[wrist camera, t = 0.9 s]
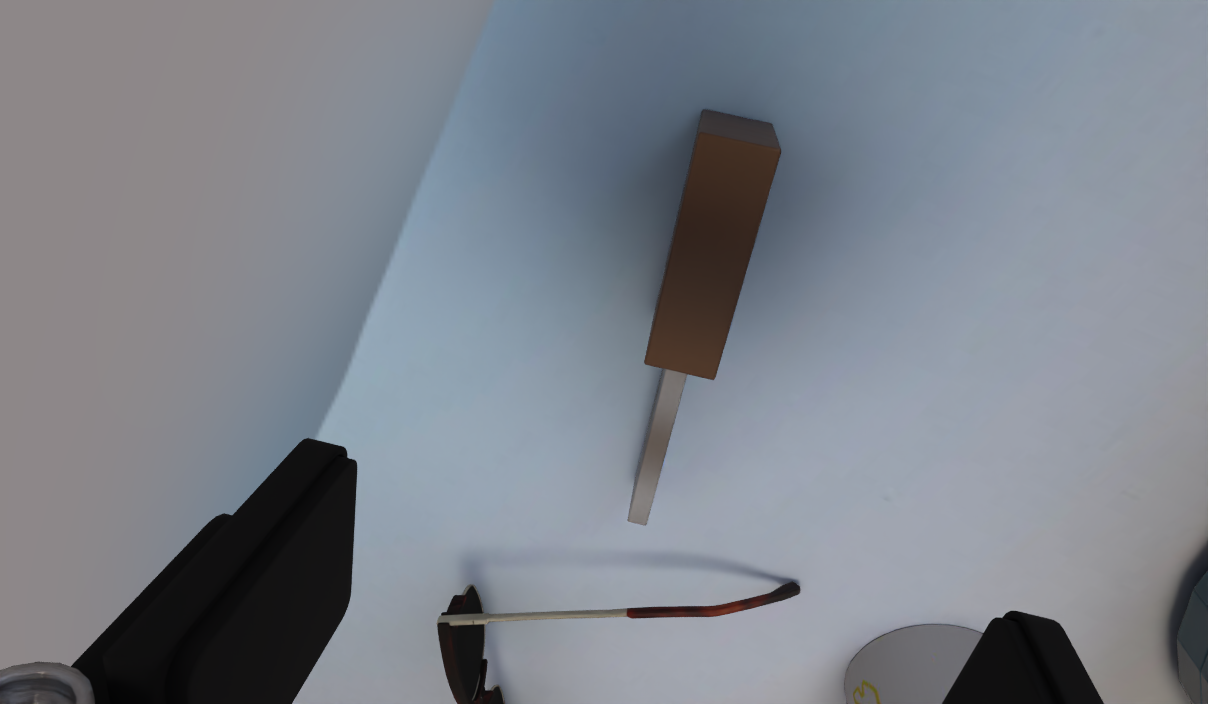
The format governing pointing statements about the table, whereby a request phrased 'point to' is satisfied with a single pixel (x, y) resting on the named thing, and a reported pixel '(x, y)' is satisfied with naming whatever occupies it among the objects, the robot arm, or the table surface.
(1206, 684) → the bowl
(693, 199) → the knife
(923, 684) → the cup
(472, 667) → the sunglasses
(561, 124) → the table surface
